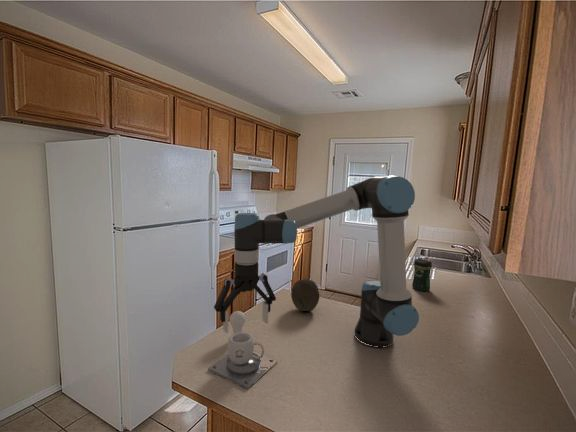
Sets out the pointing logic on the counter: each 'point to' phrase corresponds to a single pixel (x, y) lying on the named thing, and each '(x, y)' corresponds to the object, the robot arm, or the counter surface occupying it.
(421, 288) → the coffee jar
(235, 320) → the lightbulb
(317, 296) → the coconut
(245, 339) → the mug
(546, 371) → the counter surface
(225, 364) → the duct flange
